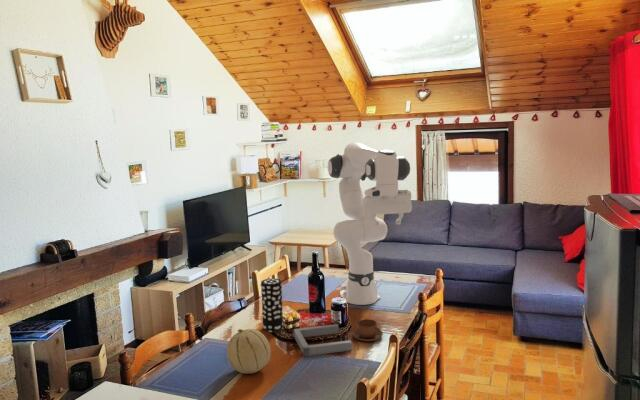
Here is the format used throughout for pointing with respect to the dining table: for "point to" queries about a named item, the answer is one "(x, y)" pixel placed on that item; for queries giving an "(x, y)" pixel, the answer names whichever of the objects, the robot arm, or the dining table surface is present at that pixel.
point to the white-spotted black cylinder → (272, 305)
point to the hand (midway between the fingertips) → (387, 224)
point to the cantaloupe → (248, 351)
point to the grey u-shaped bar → (320, 348)
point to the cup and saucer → (367, 331)
